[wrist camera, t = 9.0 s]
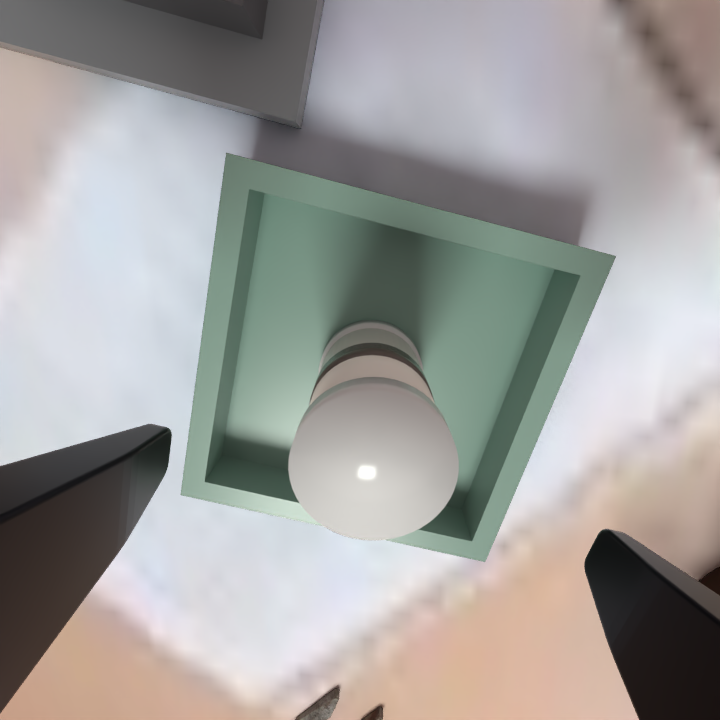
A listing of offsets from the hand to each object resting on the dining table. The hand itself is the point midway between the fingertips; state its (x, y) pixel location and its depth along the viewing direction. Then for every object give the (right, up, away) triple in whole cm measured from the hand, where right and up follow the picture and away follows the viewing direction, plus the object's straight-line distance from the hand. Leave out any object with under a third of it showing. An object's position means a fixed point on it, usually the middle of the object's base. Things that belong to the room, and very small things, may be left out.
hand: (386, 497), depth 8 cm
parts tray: (0, +3, +8) cm, 9 cm away
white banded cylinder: (0, +2, +7) cm, 8 cm away
